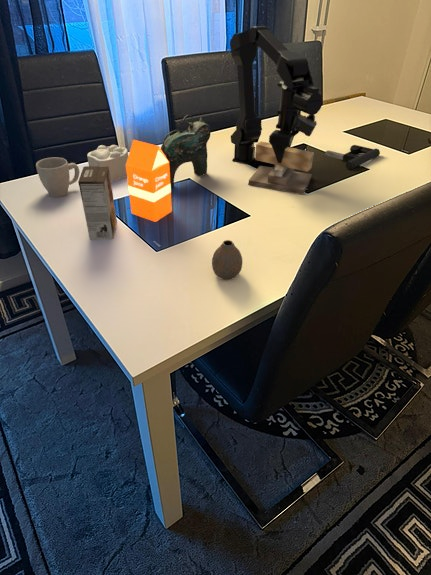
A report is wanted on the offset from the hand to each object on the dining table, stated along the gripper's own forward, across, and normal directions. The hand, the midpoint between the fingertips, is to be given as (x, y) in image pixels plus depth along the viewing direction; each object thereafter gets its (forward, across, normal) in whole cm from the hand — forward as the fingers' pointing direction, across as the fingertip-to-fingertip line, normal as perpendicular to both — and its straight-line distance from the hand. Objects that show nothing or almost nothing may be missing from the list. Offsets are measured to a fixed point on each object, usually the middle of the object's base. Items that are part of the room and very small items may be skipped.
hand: (283, 157), depth 132 cm
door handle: (+9, +30, -19) cm, 37 cm away
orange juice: (+8, -35, +29) cm, 46 cm away
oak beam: (+2, 0, 0) cm, 2 cm away
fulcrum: (+8, 0, 0) cm, 8 cm away
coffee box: (+8, -49, +36) cm, 61 cm away
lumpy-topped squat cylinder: (+8, -16, +54) cm, 57 cm away
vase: (+8, -55, -1) cm, 56 cm away
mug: (+8, -34, +60) cm, 69 cm away
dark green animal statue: (+8, -11, +29) cm, 32 cm away
